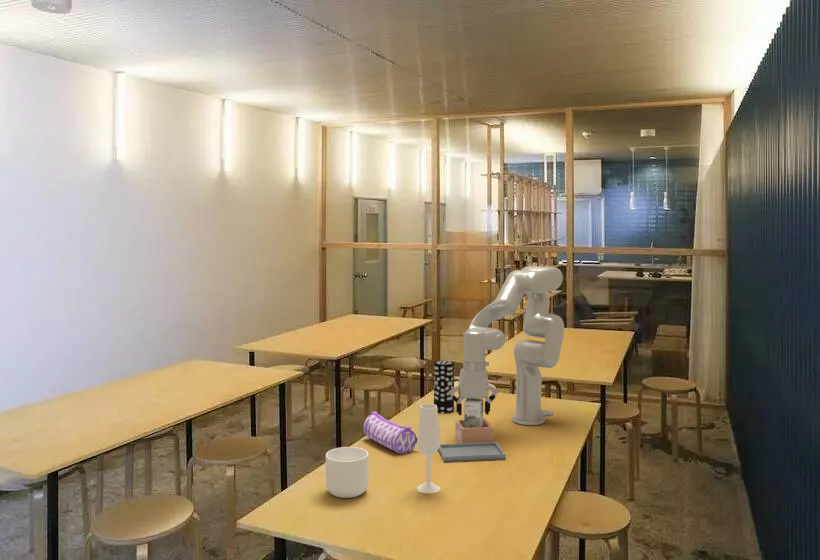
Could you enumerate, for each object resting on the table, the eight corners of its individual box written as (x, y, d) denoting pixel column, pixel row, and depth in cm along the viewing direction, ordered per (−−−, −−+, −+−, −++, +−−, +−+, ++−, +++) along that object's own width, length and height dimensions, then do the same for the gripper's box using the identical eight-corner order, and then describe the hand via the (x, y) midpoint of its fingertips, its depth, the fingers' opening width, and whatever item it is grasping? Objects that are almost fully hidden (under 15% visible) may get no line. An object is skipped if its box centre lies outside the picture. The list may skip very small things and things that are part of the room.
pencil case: (419, 452, 214) (419, 424, 213) (397, 458, 208) (397, 429, 207) (381, 435, 231) (381, 409, 230) (359, 440, 225) (359, 414, 225)
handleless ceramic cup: (341, 505, 172) (341, 464, 171) (317, 491, 181) (317, 452, 180) (377, 494, 179) (377, 454, 179) (352, 481, 189) (352, 444, 188)
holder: (485, 434, 231) (485, 418, 231) (492, 444, 220) (492, 427, 220) (455, 435, 230) (455, 419, 229) (461, 446, 219) (461, 428, 219)
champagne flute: (443, 491, 181) (443, 408, 179) (420, 494, 179) (420, 410, 177) (435, 482, 187) (436, 402, 185) (413, 485, 185) (413, 403, 183)
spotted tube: (452, 414, 257) (452, 365, 256) (432, 413, 259) (432, 364, 258) (455, 408, 266) (455, 360, 264) (435, 407, 267) (435, 360, 266)
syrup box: (483, 438, 227) (483, 398, 226) (479, 443, 221) (480, 402, 220) (467, 437, 229) (468, 397, 228) (463, 442, 223) (463, 401, 222)
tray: (496, 447, 218) (496, 442, 218) (505, 459, 206) (505, 454, 206) (438, 449, 216) (438, 444, 215) (444, 462, 204) (444, 456, 204)
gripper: (495, 363, 228) (494, 410, 229) (447, 363, 226) (446, 411, 227) (501, 367, 220) (500, 416, 221) (451, 368, 218) (450, 417, 219)
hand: (473, 414), depth 224 cm, fingers open, 9 cm apart
